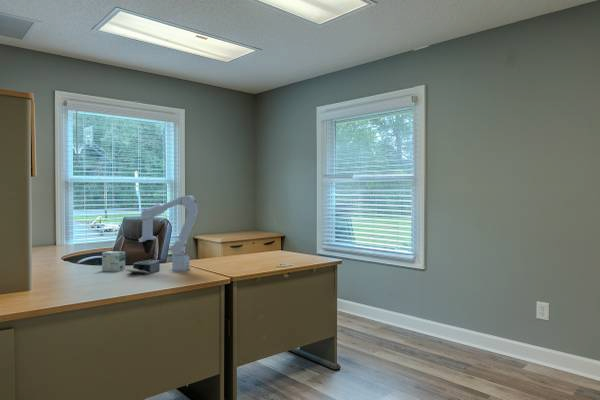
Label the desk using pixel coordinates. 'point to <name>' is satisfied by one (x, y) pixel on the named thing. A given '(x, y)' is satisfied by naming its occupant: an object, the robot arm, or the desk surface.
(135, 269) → the carton flap
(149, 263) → the carton
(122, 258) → the light bulb box
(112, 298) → the desk surface
